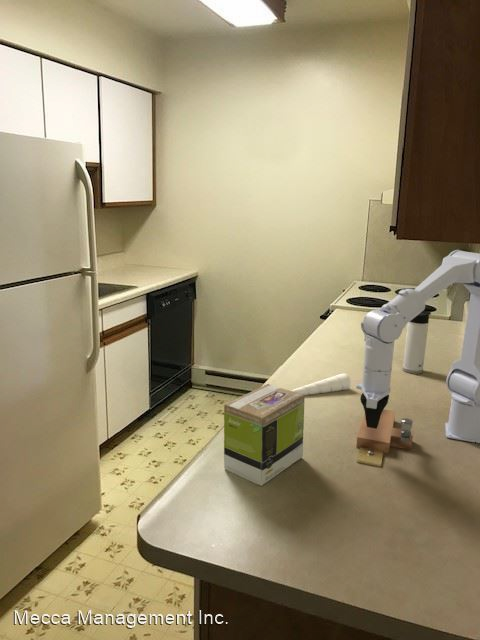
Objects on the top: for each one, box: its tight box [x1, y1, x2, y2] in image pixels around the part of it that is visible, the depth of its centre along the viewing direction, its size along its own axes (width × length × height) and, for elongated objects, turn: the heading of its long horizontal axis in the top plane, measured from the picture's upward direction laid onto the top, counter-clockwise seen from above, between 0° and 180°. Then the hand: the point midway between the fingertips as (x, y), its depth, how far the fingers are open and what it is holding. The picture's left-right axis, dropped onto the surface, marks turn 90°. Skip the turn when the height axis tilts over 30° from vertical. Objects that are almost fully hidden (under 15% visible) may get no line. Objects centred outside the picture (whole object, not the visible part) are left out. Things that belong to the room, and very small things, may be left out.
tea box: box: [223, 383, 306, 487], centre depth 103 cm, size 15×10×15 cm, turn 141°
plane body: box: [355, 409, 414, 454], centre depth 118 cm, size 12×18×4 cm, turn 159°
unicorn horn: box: [290, 373, 352, 396], centre depth 143 cm, size 5×24×5 cm, turn 110°
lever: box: [400, 417, 413, 442], centre depth 110 cm, size 10×2×2 cm, turn 160°
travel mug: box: [402, 310, 432, 375], centre depth 161 cm, size 6×7×20 cm
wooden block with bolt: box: [356, 447, 384, 468], centre depth 108 cm, size 5×6×2 cm
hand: (372, 426), depth 108 cm, fingers closed
